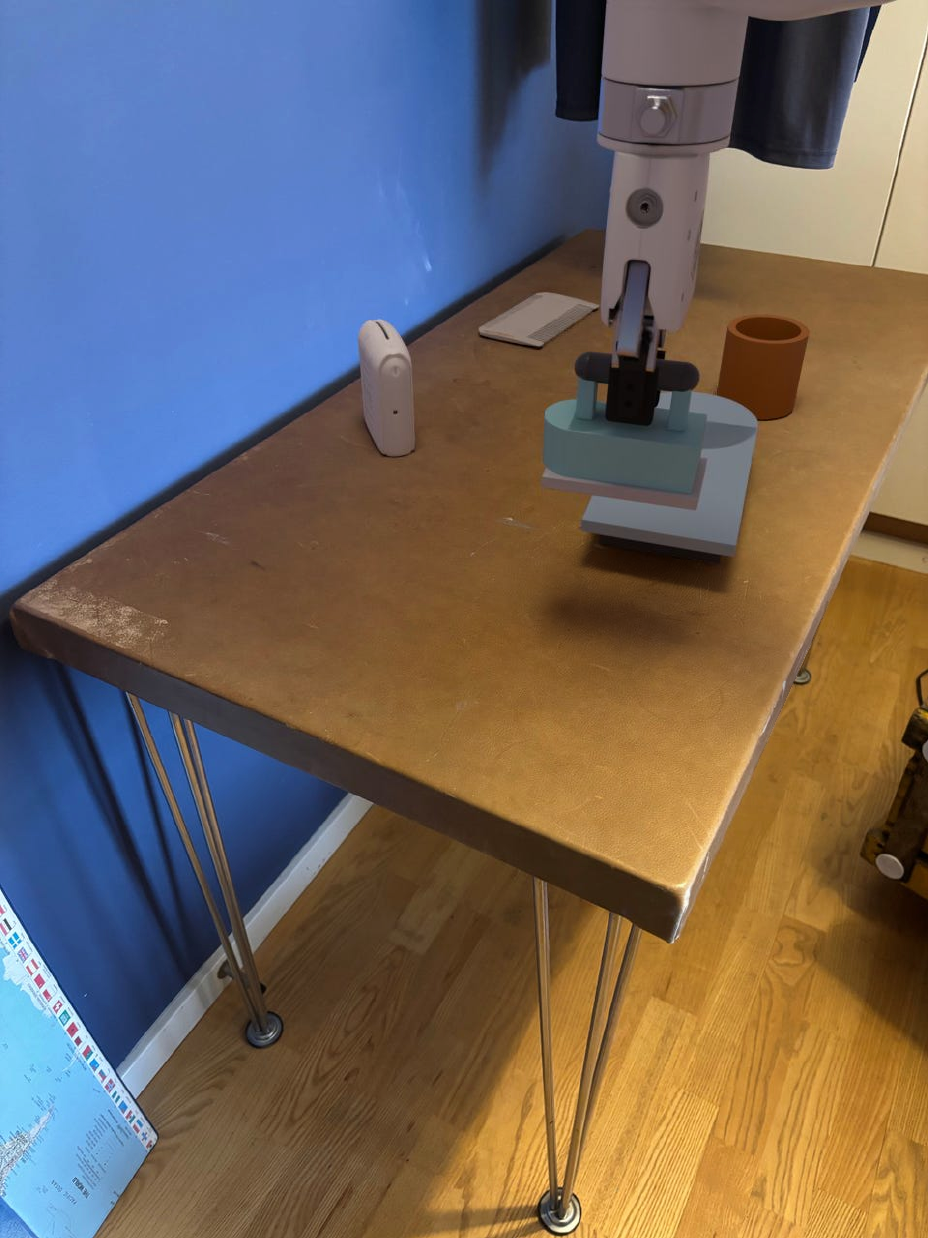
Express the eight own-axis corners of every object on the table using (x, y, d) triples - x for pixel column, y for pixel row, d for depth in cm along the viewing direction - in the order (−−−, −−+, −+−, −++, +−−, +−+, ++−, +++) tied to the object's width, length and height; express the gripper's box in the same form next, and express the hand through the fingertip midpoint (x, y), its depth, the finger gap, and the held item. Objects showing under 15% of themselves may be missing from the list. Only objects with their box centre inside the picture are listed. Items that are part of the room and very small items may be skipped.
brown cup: (810, 387, 110) (828, 313, 104) (780, 427, 102) (798, 349, 96) (737, 372, 113) (751, 299, 108) (703, 409, 105) (716, 333, 100)
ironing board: (754, 443, 99) (763, 400, 96) (726, 593, 78) (736, 545, 75) (635, 426, 102) (640, 384, 99) (577, 566, 81) (581, 519, 78)
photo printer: (420, 454, 98) (415, 342, 90) (381, 460, 97) (372, 347, 89) (397, 413, 105) (390, 307, 98) (360, 418, 104) (351, 311, 97)
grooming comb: (538, 349, 119) (538, 343, 118) (472, 334, 123) (472, 329, 123) (600, 307, 131) (601, 301, 131) (539, 294, 135) (539, 289, 135)
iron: (705, 469, 67) (726, 349, 62) (696, 511, 63) (717, 385, 57) (552, 448, 70) (558, 331, 64) (532, 486, 66) (537, 365, 60)
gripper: (719, 147, 45) (670, 475, 56) (743, 92, 57) (699, 373, 68) (569, 139, 47) (552, 459, 58) (624, 88, 59) (600, 362, 70)
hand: (632, 410), depth 63 cm, fingers closed on iron
